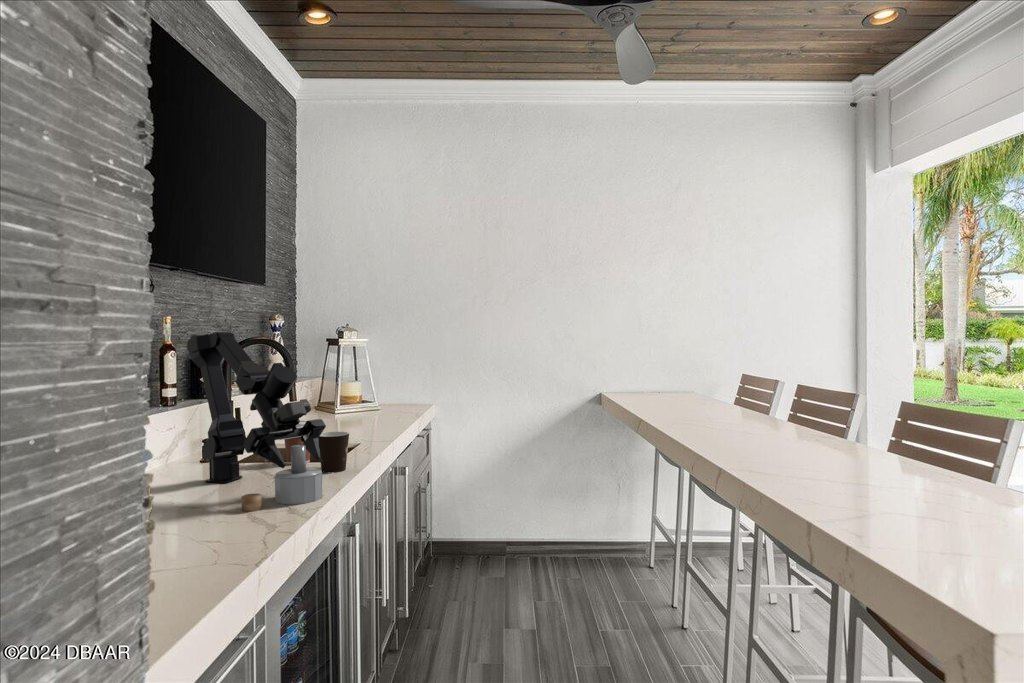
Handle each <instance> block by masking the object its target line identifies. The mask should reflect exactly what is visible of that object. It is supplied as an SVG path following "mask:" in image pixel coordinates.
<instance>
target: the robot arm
mask: <svg viewBox="0 0 1024 683" xmlns="http://www.w3.org/2000/svg"><path fill="white" fill-rule="evenodd" d="M186 349H187V351H188V353H189V356H190V359H191V361H192V362H193V363H194V364H195V365H196V366H197V367H198V368H199V369H200V373H201V376H202V382H203V386H204V390H205V396H206V399H207V403H208V409H209V413H210V416H211V422H210V423H211V424H210V426H209V429H208V431H207V437H208V439H207V440H206V442H205V443H204V445H203V447H202V449H201V453H202V458H203V459H205V460H206V459H207V460H208V462H209V463H208V464H209V478H208V479H205V480H204V482H205V483H217V484H219V483H222V484H228V483H231V482H233V481H237V480H239V479H243V475H240V462H239V456H243V455H244V453H245V452H246V453H247V454H251V453H252V455H255V456H256V455H257V456H260V457H262V458H264V459H266V460H268V462H271V463H273V464H275V465H276V466H278V467H279V468H281V469H284V468H286V466H287V465H286V464H287V463H286V462H285V460H284V457H283V456H282V453H281V452H280V450H279V449H278V447H277V445H276V441H283V440H284V439H290V438H296V437H299V438H300V440H301V441H302V442H304V443H303V445H306V449H307V450H308V452H309V453H310V456H311V457H312V458H314V460H315V461H316V462H319V461H320V458H321V457H320V450H319V436H320V435H321V433H324V430H325V428H326V427H327V425H326V424H325V422H324V420H323V419H322V418H315V419H309V420H308V421H306V423H305V424H304V426H303V427H302V428H296V425H297V424H299V422H300V420H301V418H302V417H303V416H306V415H308V414H309V413H310V412H311V411H312V406H311V404H310V402H309V400H307V399H306V398H305V399H304V398H303V399H299V401H291V402H287V403H283V401H282V399H285V398H286V397H287V396H288V394H289V392H290V391H291V389H292V387H293V386H294V384H295V383H296V380H297V378H298V375H297V373H296V372H295V371H294V370H293V369H292V368H290V367H289V366H286V365H283V363H282V362H273V363H272V366H271V368H270V370H269V369H267V368H266V367H265V366H264V365H262V364H259V363H257V362H255V361H254V360H252V358H251V357H250V356H249V355H248V353H247V352H246V351H245V350H244V348H243V347H242V346H241V344H239V342H238V340H236V338H235V334H234V333H233V332H230V331H214V332H211V333H208V334H193V335H192V336H190V338H189V339H188V340H187V342H186ZM223 359H224V361H225V362H226V364H228V366H229V367H230V368H231V370H233V372H234V374H235V376H236V377H235V378H236V379H235V384H236V385H237V387H238V389H239V391H240V393H241V394H243V395H244V396H249V395H255V396H254V397H253V398H252V399H251V404H250V407H249V409H250V411H257V412H258V414H259V416H260V418H261V420H262V421H261V424H260V425H261V426H260V427H253V428H251V429H250V431H249V432H248V434H247V436H246V433H247V432H246V431H245V429H244V423H243V420H242V419H236V417H235V416H234V415H233V412H232V408H231V404H230V400H229V395H228V390H227V385H226V382H225V378H224V374H223V369H222V365H221V363H222V362H223ZM284 441H285V440H284Z"/></svg>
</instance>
